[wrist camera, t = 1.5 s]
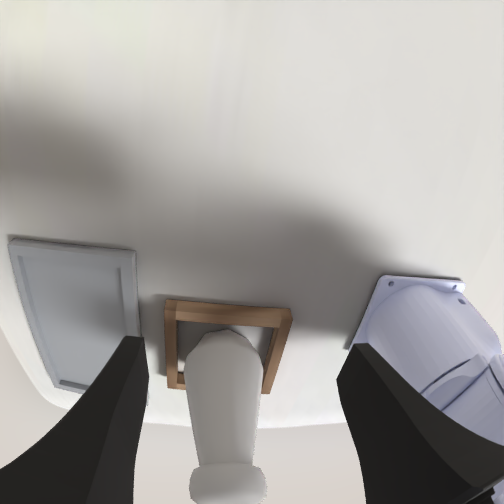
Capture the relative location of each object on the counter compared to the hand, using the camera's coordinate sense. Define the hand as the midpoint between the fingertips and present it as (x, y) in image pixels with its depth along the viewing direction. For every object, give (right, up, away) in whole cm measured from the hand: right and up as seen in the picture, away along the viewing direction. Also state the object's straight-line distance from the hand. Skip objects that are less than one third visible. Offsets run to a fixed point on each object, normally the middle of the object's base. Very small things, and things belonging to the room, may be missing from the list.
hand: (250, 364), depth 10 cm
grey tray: (-14, -3, +12) cm, 18 cm away
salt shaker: (-2, -4, +14) cm, 15 cm away
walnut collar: (-2, -4, +14) cm, 14 cm away
